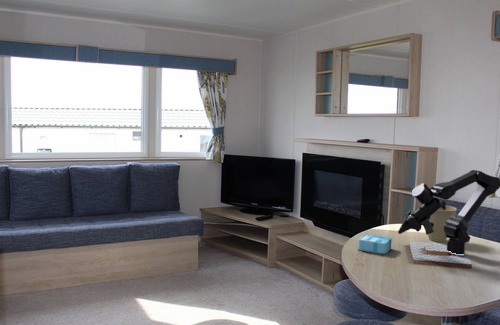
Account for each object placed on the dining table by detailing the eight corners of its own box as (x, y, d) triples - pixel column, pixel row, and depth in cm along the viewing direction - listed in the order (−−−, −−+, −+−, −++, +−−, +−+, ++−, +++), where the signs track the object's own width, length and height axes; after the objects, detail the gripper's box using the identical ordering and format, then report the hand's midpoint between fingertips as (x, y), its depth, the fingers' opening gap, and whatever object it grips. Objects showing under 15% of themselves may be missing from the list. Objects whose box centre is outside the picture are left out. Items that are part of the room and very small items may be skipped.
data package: (385, 243, 197) (357, 239, 203) (385, 254, 197) (357, 249, 203) (392, 237, 207) (365, 233, 213) (391, 247, 208) (364, 243, 214)
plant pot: (425, 243, 218) (427, 209, 216) (417, 235, 232) (419, 203, 231) (458, 245, 216) (461, 211, 214) (449, 237, 231) (451, 204, 229)
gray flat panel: (388, 248, 208) (388, 247, 208) (381, 254, 199) (381, 253, 199) (365, 244, 214) (365, 243, 214) (357, 249, 204) (357, 249, 204)
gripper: (443, 228, 186) (412, 253, 190) (440, 219, 204) (412, 242, 208) (422, 207, 188) (392, 232, 192) (421, 200, 206) (394, 223, 210)
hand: (398, 233), depth 201 cm, fingers closed
